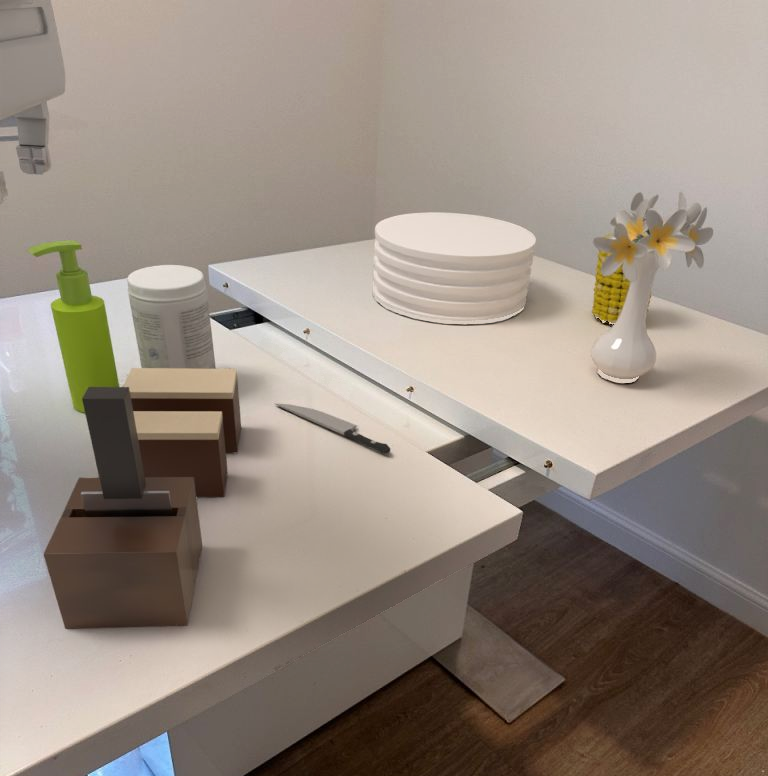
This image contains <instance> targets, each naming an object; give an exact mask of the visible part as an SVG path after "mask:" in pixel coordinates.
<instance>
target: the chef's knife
mask: <svg viewBox="0 0 768 776" xmlns="http://www.w3.org/2000/svg"><path fill="white" fill-rule="evenodd" d="M274 405H276V406H278V407H279V408H281V409H283V410H286V411H288V412H290V413H292V414H295V415H297V416H299V417H301V418H304V419H305V420H307V421H310V422H313V423H314V424H317V425H319V426H322V427H324V428H326V429H329V430H331V431H333V432H335V433H338V434H340V435H342V436H344V437H346V438H348V439H351V440H353V441H355V442H358V443H360V444H363V445H364V446H365V445H366V446H368V447H370V448H372V449H374V450H376V451H378V452H380V453H384V454H389V453H390V452H391V447H390V446H389V445H388V444H387V443H383V442H379V441H376V440H374V439H371V438H369V437H366V436H364V435H363V434H360V433H359V432H356V431H354V430H355V429H356V428H357V427H358V425H357V424H354V423H352V422H349V421H346V420H344V419H341V418H339V417H336V416H334V415H331V414H329V413H326V412H324V411H320V410H317V409H314V408H310V407H304V406H299V405H294V404H289V403H274Z"/></svg>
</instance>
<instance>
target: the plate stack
mask: <svg viewBox="0 0 768 776" xmlns="http://www.w3.org/2000/svg"><path fill="white" fill-rule="evenodd" d="M374 239H375V241H374V244H373V245H374V246H373V247H374V248H373V251H374V256H373V268H374V269H373V273H372V282H373V284H372V295H373V294H374V296H375V297H376V298H377V299H378V300H379V301H380V302H382V303H383V304H385V305H387V306H389V307H391V308H394V309H397V310H400V311H403V312H405V313H409V314H413V315H417V316H420V317H425V318H431V319H440V320H452V321H472V320H473V321H475V320H488V319H494V318H500V317H504V316H507V315H510V314H513V313H515V312H517V311H519V310H520V309H522V308H523V307H524V306H525V307H526V305H525V304H527V295H528V292H529V285H530V284H529V282H530V279H531V275H532V265H533V263H534V257H535V256H534V251H535V249H536V244H537V238H536V236H535V235H534V234H533V233H532V232H531V231H530V230H528V229H526V228H525V227H523V226H520V225H518V224H515V223H512V222H509V221H506V220H502V219H497V218H493V217H488V216H483V215H477V214H468V213H467V214H466V213H459V212H458V213H457V212H441V211H440V212H439V211H437V212H435V211H434V212H433V211H432V212H412V213H404V214H399V215H394V216H390V217H387V218H385V219H382V220H380V221H379V222H377V223H376V224H375V226H374Z"/></svg>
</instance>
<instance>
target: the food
mask: <svg viewBox="0 0 768 776" xmlns="http://www.w3.org/2000/svg"><path fill="white" fill-rule="evenodd" d="M613 233H614V232H613ZM613 233H611V232H610V233H608V234H605V235H604V236H603V237H606V238H607V237H609V236H610V235H611V234H613ZM642 235H643V236H647V235H648V234H647V233H646V232H645V233H643V234H642ZM638 239H639V238H638ZM611 254H612V253H605V252H602V251H600V250H599V249H598V254H597V258H598V259H597V264H596V268H595V270H596V273H595V275H594V277H595V283H594V287H593V302H592V310H591V314H592V315H593V314H594V315H595V316H594V315H593V316H594V318H595V317H599V318H600V319H601V320H604V321H608V322H611V323H615V322H616V321H617V319H618V318H619V316H620V314H621V311H622V309H623V306H624V303H625V299H626V296H627V293H628V289H629V286H630V282H631V281H629V280H628V279H627V278H626V277H625V275H624V273H623V269H622V266H623V264H622V265H621V266H620V267H619V268H618V270H617V271H616V272H614V273H613V274H612V275H610V276H603V275H602V274H601V266H602V264H603V262H604V261H605V259H606V258H607V257H608V256H609V255H611ZM623 263H624V262H623ZM651 298H652V293H651V294H650V298H649V303H648V307H647V313H646V315H648V312H649V307H650V303H651ZM608 322H607V323H608Z"/></svg>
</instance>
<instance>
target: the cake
mask: <svg viewBox="0 0 768 776" xmlns="http://www.w3.org/2000/svg"><path fill="white" fill-rule="evenodd" d="M122 387H129V390H130V395H131V401H132V407H133V411H217V412H222V417H223V418H222V419H223V428H224V438H225V449H226V454H238V452H239V444H240V438H241V433H242V432H241V431H242V419H241V418H242V417H241V405H240V393H239V380H238V369H237V368H216V369H188V368H142V367H131V368H130V371H129V373H128V375H127V377H126V380H125V382H124V383H123V386H122Z"/></svg>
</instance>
